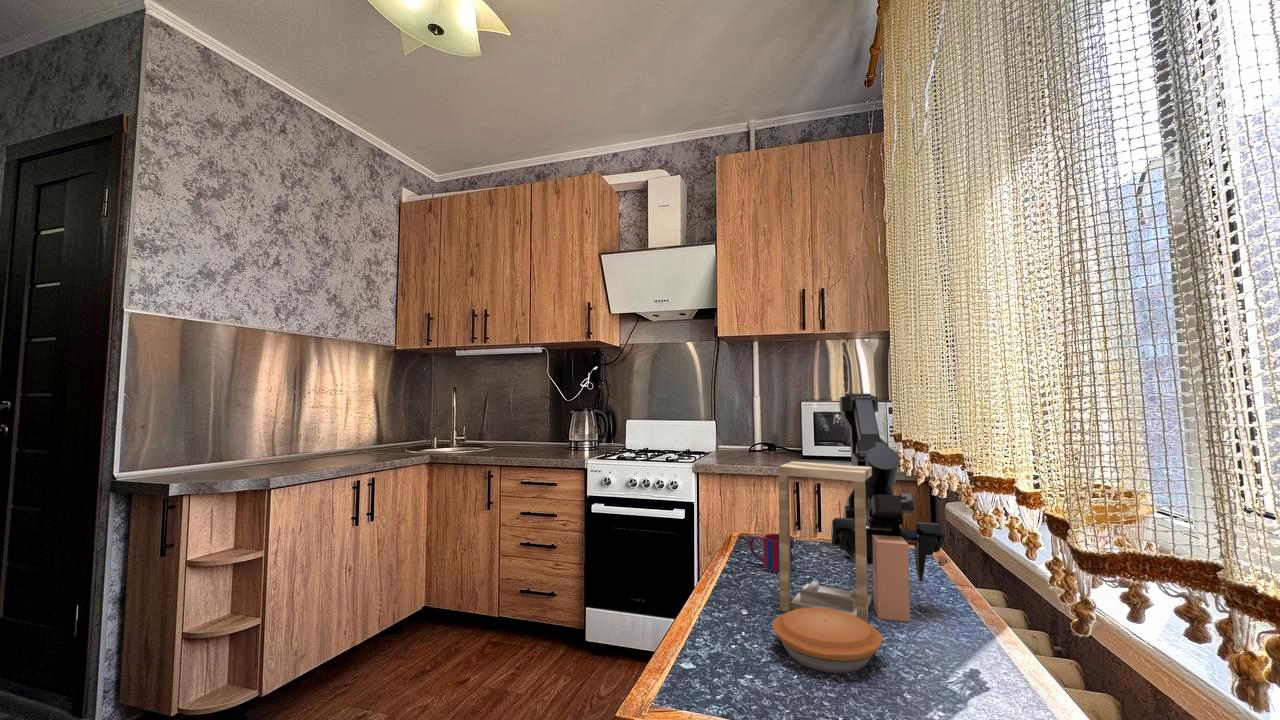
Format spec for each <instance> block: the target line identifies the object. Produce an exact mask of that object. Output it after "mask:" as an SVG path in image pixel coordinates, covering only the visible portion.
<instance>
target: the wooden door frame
mask: <svg viewBox="0 0 1280 720" xmlns="http://www.w3.org/2000/svg"><path fill="white" fill-rule="evenodd" d="M777 469H778V470H777V471H778V534H779V560H780V573H779V611H781V610H782V612H786V611H787V612H789V611H792V610H795V609H800V608H827V609H832V610H838V611H841V612H845V613H848V614H851V615H853V616H856V617H858V618H860V619H861V620H863V621H864V622H866V623H868V624H869V607H870V605H871V603H872V601H873V595H872V594H868V563H867V547H866V499H865V480H867V479H868V478H869V477H870V476H872V467H866V466H852V464H851V465H849V464H835V463H819V462H818V463H817V462H807V461H806V462H803V461H790V462H787V463H785V464H781V465H779V466H778V468H777ZM790 477H800V478H801V477H802V478H811V479H812V478H814V479H825V480H827V479H828V480H835V481H837V480H838V481H849V482H850V481H851V482H853V481H854V500H855V551H856V565H855V586H856V587H855V588H854V589H853V590H852V591H851V590H845V589H840V588H835V587H828V586H824V585H820V581H816V580H812V581H811V582H810V583H808V582H807V583H806V584H805V585H804V586H803V587H802V588H801V589H800V590H799V592H798V593H797V594H796V595H795V596H794V597H793V598H791V595H792V592H791V591H792V590H791V587H792V586H791V572H790V536H791V527H790V526H791V523H790V521H791V520H790V519H791V518H790V517H791V515H790V513H791V512H790V511H791V509H790V504H791V503H790ZM791 599H792V600H791ZM787 612H786V613H787Z"/></svg>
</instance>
